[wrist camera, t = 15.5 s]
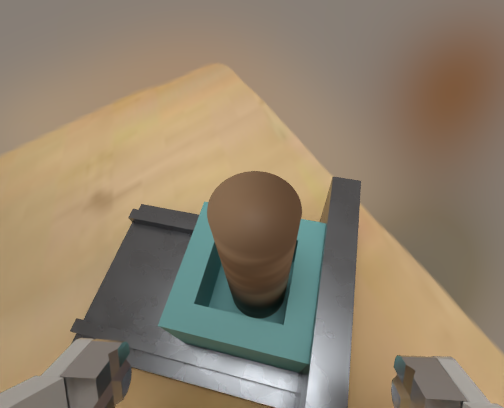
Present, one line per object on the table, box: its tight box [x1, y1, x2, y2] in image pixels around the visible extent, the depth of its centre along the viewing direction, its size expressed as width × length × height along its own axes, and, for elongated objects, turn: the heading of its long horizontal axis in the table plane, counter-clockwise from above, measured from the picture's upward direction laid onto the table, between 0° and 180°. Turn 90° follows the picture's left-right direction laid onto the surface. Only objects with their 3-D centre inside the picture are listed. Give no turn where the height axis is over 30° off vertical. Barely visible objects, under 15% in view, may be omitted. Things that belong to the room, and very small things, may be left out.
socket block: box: [158, 202, 326, 373], centre depth 23 cm, size 9×9×7 cm
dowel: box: [207, 171, 302, 319], centre depth 18 cm, size 4×4×12 cm
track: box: [70, 177, 361, 408], centre depth 23 cm, size 20×16×9 cm
